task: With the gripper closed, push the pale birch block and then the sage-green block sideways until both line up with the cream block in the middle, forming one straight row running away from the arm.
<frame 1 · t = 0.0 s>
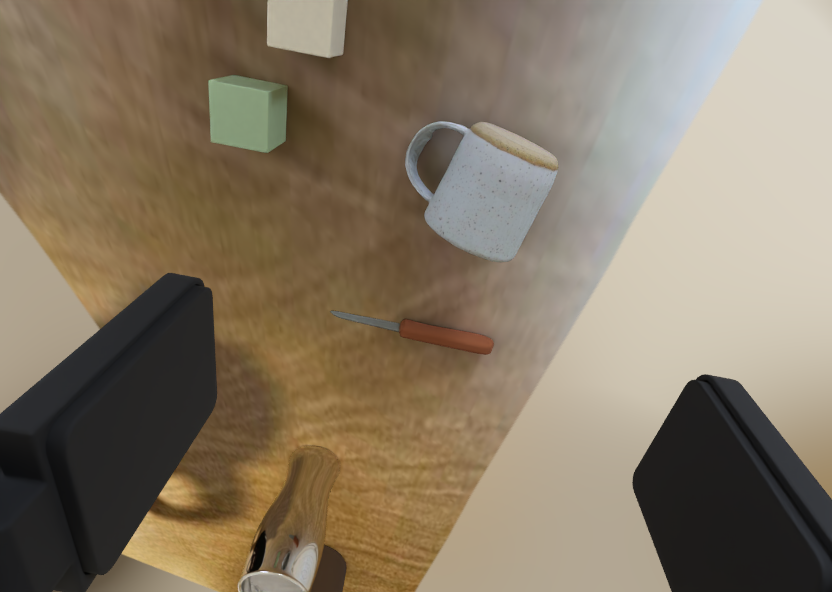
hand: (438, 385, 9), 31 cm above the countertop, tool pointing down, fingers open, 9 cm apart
ceramic mug: (472, 173, 39), on the countertop
sage block: (260, 108, 37), on the countertop
cream block: (316, 16, 34), on the countertop
beer glass: (315, 462, 57), on the countertop
kitchen knife: (412, 322, 46), on the countertop
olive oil: (313, 560, 67), on the countertop
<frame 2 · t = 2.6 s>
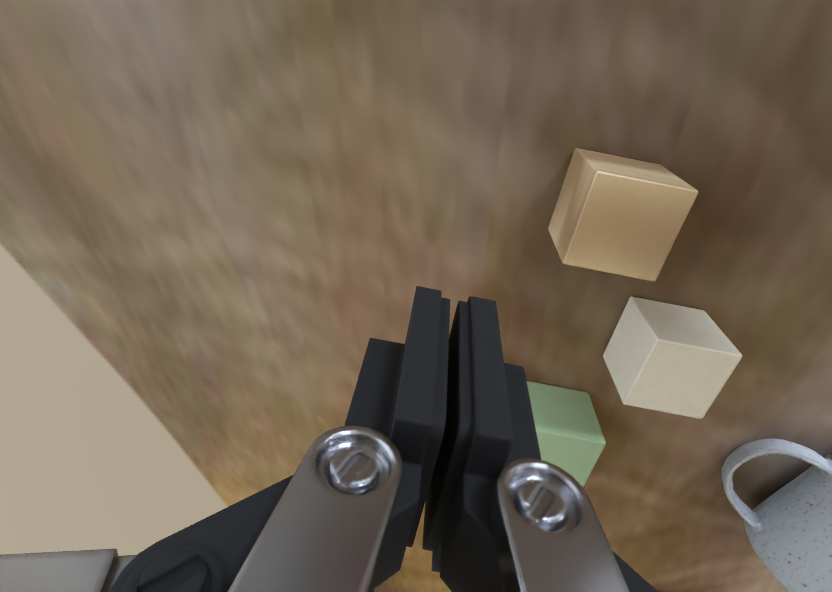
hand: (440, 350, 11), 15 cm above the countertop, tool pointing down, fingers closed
ceramic mug: (789, 476, 32), on the countertop
birch block: (601, 198, 24), on the countertop
sage block: (545, 410, 31), on the countertop
cream block: (651, 333, 27), on the countertop
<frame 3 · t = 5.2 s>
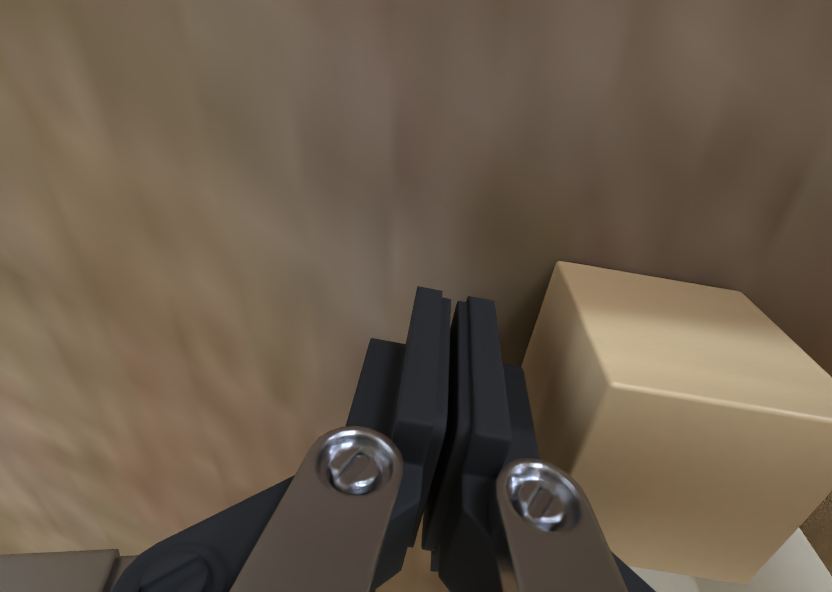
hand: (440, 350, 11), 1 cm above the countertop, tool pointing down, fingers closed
birch block: (615, 349, 12), on the countertop, touching gripper
cream block: (696, 551, 15), on the countertop
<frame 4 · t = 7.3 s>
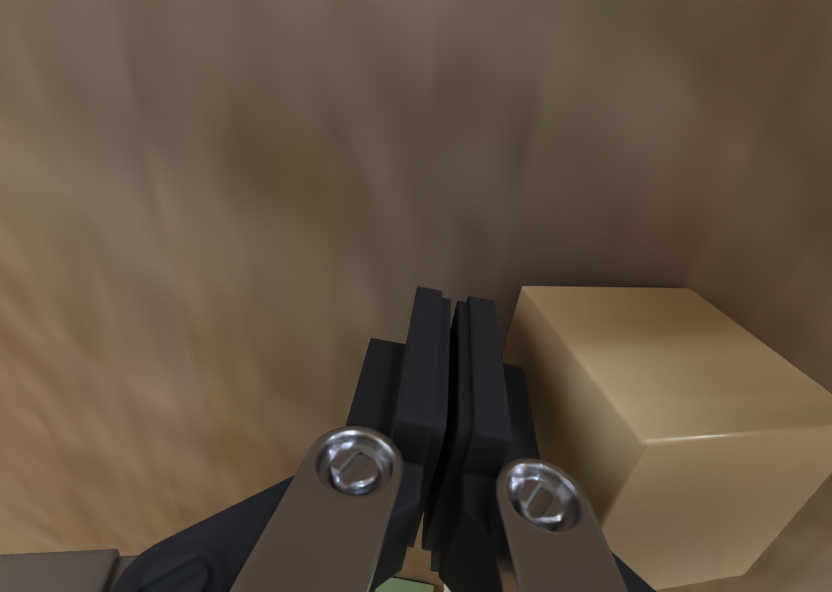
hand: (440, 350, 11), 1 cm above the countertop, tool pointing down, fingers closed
birch block: (579, 361, 11), point 1 cm above the countertop, tilted 17°, touching gripper
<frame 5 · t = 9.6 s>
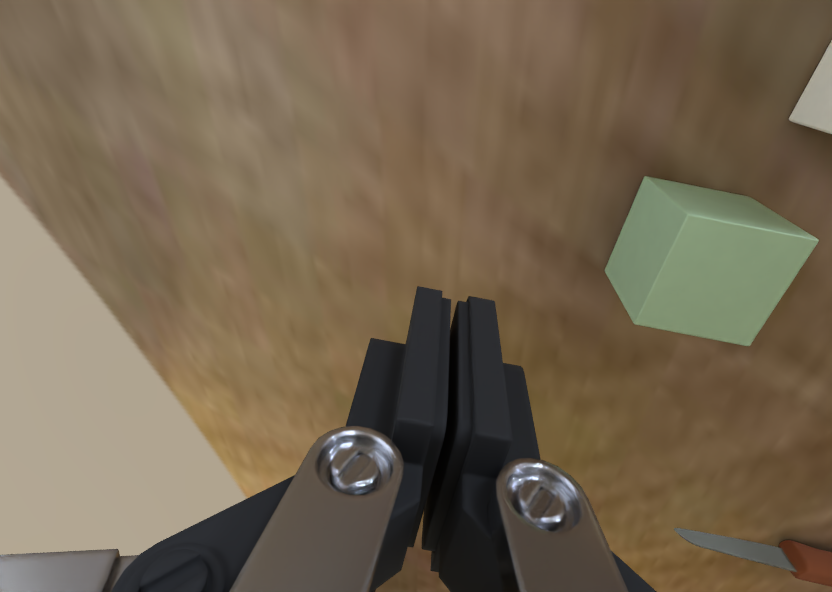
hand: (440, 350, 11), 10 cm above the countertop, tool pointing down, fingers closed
sage block: (673, 235, 19), on the countertop
kitchen knife: (793, 541, 28), on the countertop
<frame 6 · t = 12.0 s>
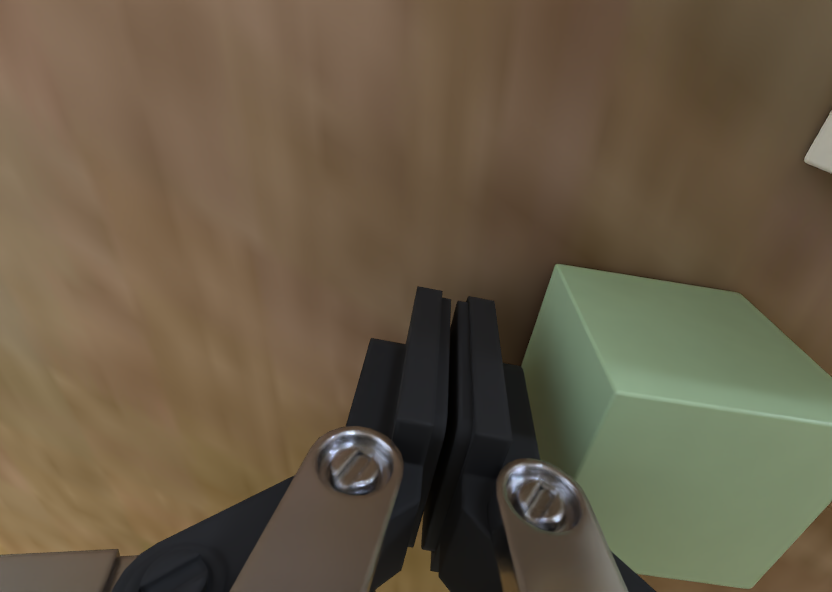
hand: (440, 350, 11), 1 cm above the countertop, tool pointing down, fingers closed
sage block: (614, 352, 12), on the countertop, touching gripper
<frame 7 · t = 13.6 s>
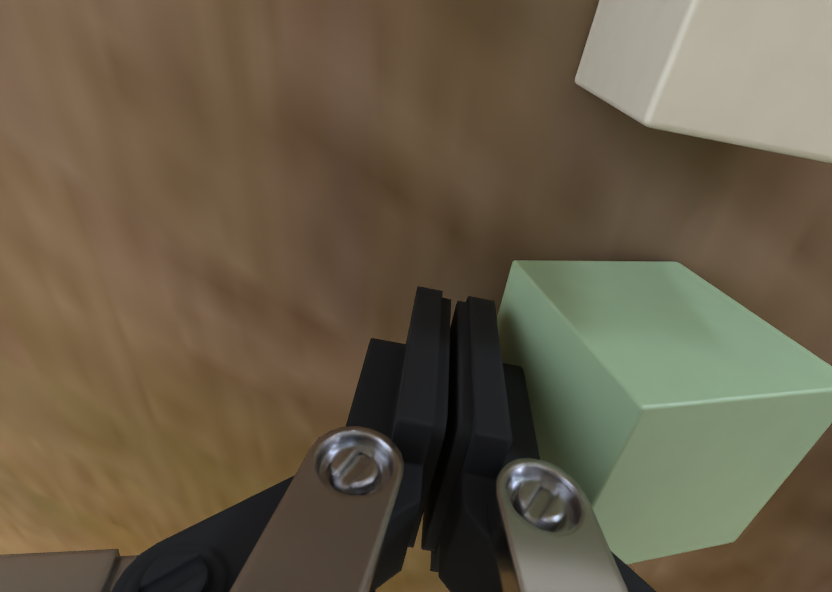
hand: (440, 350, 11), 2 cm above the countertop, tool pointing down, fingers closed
sage block: (570, 338, 11), point 1 cm above the countertop, tilted 20°, touching gripper
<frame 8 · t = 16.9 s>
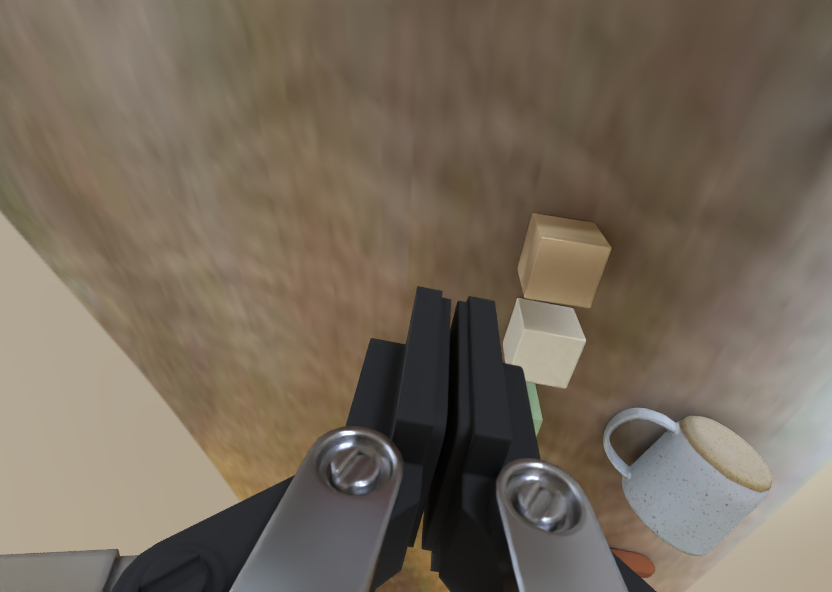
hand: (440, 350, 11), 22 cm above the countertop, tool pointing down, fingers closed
ceramic mug: (659, 439, 41), on the countertop
birch block: (554, 246, 33), on the countertop
sage block: (503, 398, 39), on the countertop
cream block: (536, 326, 36), on the countertop
kitchen knife: (574, 539, 48), on the countertop
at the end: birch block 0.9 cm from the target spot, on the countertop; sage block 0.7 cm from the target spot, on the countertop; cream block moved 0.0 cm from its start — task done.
